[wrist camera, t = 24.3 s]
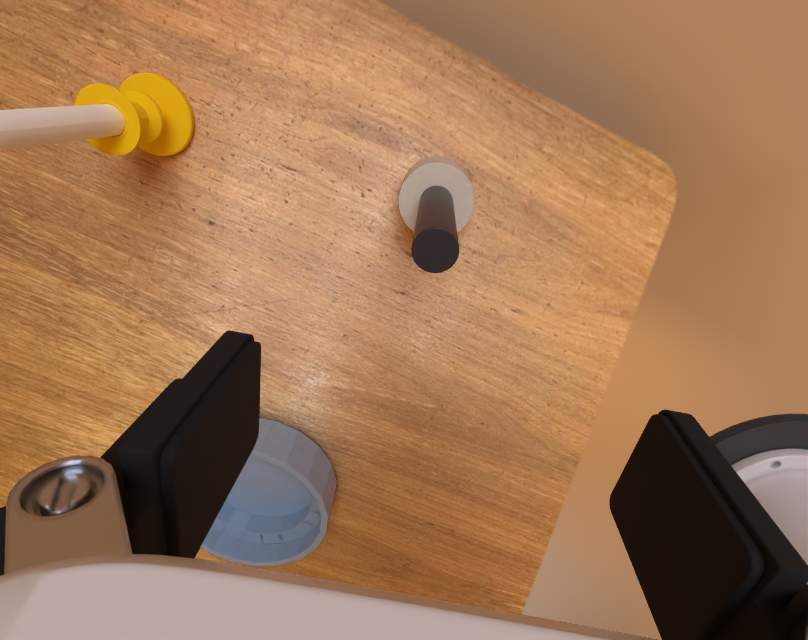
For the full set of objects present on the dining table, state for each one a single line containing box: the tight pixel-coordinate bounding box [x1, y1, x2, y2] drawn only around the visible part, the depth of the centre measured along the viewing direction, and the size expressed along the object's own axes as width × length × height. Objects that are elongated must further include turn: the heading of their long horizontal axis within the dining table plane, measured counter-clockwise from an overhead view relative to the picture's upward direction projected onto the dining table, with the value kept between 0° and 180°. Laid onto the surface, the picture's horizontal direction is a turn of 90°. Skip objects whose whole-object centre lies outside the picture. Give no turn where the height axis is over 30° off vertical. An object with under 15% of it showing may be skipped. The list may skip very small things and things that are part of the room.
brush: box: [398, 156, 475, 273], centre depth 27 cm, size 5×5×13 cm
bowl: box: [200, 418, 337, 566], centre depth 44 cm, size 15×15×5 cm
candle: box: [0, 73, 194, 156], centre depth 25 cm, size 5×5×16 cm
